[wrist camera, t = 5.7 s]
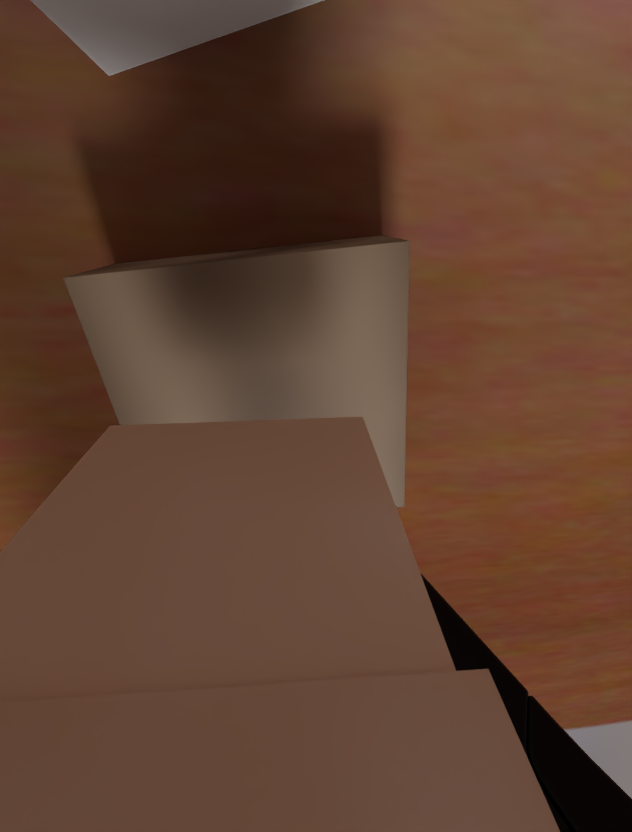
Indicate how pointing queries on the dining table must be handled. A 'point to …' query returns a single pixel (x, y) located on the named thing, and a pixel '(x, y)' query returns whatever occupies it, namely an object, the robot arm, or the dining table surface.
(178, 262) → the beige block
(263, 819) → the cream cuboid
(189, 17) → the milk
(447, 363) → the dining table surface
